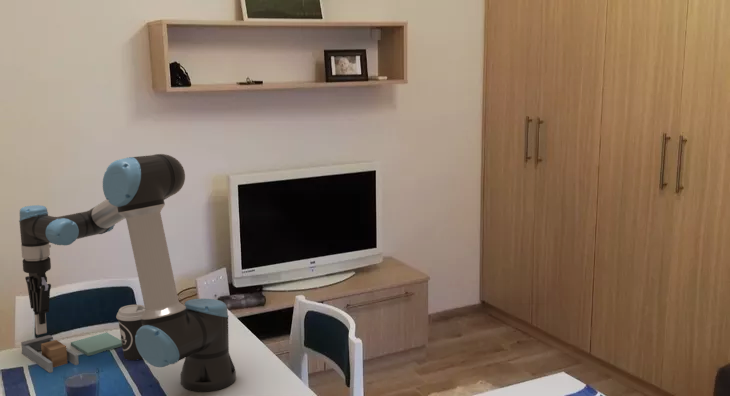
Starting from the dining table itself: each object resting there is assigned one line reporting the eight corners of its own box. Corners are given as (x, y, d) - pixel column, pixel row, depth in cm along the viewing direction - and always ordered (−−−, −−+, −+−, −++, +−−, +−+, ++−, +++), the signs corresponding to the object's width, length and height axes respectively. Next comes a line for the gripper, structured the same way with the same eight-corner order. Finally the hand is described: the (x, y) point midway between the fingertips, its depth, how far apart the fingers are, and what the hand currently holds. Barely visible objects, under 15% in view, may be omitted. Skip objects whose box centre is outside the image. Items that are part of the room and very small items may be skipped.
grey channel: (78, 364, 207) (77, 352, 206) (49, 372, 201) (48, 361, 200) (50, 345, 221) (49, 334, 220) (22, 353, 215) (21, 342, 214)
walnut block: (67, 363, 208) (66, 346, 207) (52, 368, 204) (50, 350, 204) (57, 357, 212) (56, 339, 211) (42, 361, 209) (40, 343, 208)
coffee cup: (141, 363, 208) (139, 315, 205) (112, 360, 210) (109, 312, 207) (157, 351, 217) (155, 304, 215) (129, 348, 219) (126, 302, 216)
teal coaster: (125, 345, 222) (124, 342, 222) (88, 355, 213) (87, 352, 213) (107, 335, 230) (106, 332, 230) (70, 345, 221) (70, 342, 221)
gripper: (58, 259, 207) (63, 335, 211) (40, 251, 216) (45, 324, 220) (32, 264, 201) (37, 342, 206) (14, 255, 210) (20, 330, 215)
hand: (41, 332), depth 213 cm, fingers closed
